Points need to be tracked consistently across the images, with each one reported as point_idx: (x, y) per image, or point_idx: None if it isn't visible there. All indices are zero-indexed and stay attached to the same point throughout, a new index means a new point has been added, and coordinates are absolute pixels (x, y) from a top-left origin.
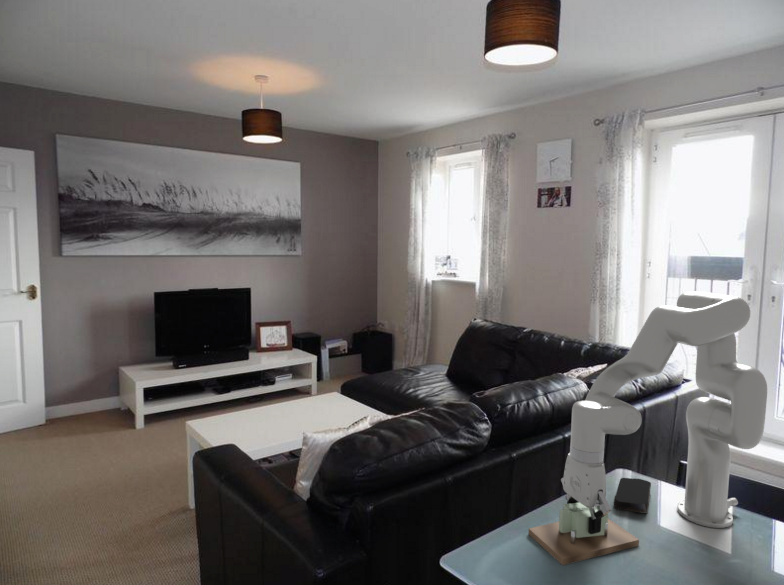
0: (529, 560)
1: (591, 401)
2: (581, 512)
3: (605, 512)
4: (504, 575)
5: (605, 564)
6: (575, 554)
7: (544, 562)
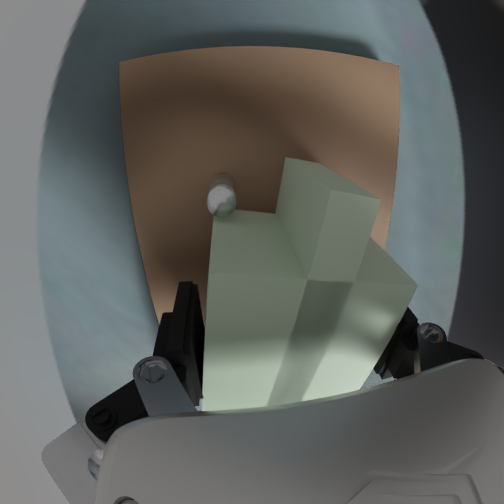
0: None
1: None
2: (272, 340)
3: (57, 438)
4: None
5: (100, 243)
6: (132, 139)
7: (175, 6)
